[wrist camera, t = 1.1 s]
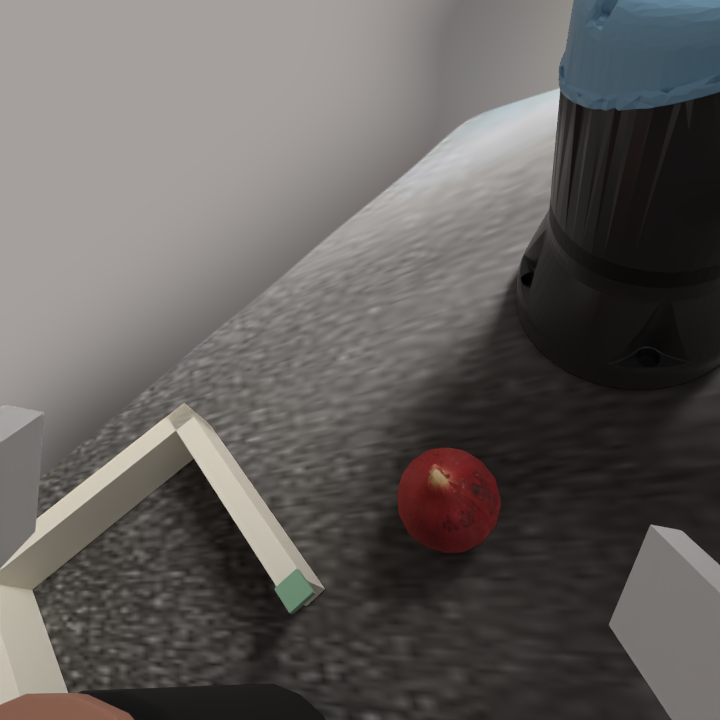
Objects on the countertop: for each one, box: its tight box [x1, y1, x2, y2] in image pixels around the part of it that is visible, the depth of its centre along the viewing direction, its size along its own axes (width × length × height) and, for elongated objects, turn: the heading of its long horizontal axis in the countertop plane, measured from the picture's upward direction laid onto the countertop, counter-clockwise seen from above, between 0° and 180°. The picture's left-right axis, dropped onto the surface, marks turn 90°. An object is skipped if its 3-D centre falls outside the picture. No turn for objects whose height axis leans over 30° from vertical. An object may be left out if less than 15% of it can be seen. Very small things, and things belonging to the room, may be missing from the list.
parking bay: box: [0, 403, 325, 705], centre depth 33 cm, size 18×16×5 cm
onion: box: [397, 447, 501, 553], centre depth 30 cm, size 6×6×8 cm
